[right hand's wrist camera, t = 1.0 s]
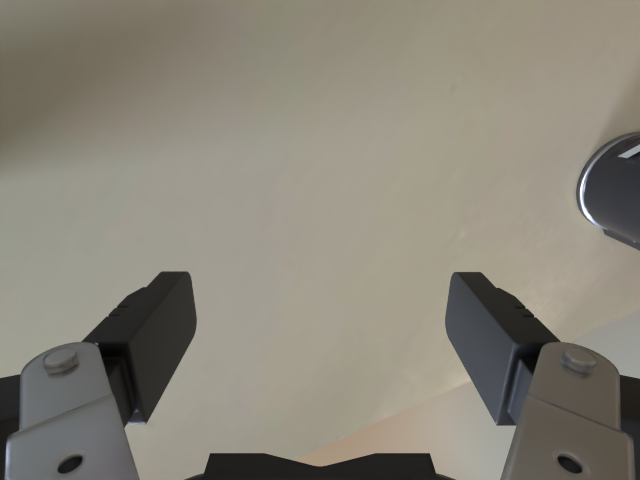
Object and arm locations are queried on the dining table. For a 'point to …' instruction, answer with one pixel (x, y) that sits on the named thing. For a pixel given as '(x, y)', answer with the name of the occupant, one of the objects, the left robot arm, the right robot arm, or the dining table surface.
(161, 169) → the dining table surface
